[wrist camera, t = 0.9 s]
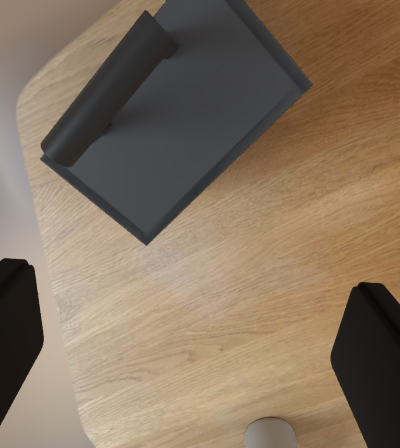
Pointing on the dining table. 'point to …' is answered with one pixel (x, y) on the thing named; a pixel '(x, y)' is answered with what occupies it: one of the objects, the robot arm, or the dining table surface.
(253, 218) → the dining table surface
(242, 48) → the grey tool caddy
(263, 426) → the cup
